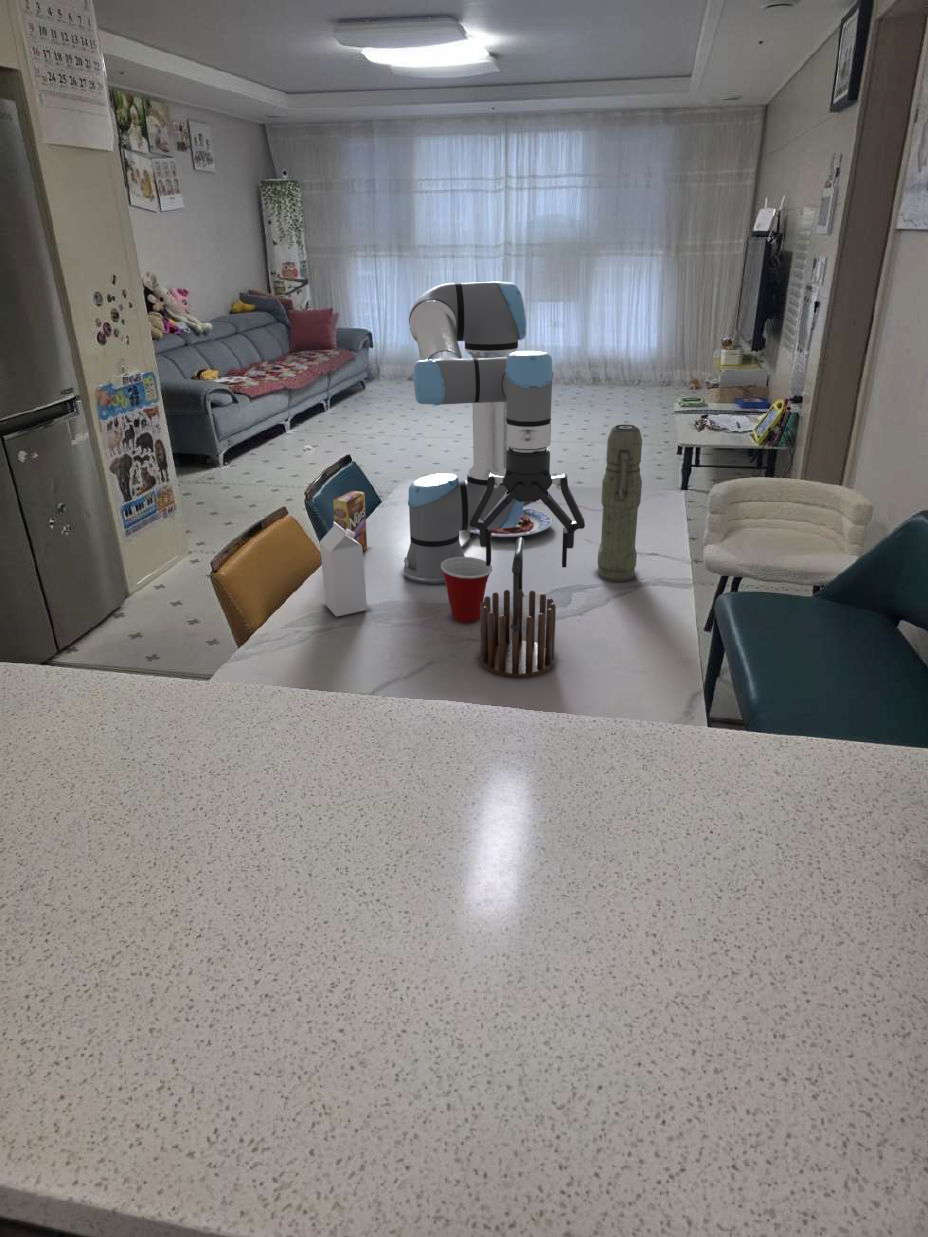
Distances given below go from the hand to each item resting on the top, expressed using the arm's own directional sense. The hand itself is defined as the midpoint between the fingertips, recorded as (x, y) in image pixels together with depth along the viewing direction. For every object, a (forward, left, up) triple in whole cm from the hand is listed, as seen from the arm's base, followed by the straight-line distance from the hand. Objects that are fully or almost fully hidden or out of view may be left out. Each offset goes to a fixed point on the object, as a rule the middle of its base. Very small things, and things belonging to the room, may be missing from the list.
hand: (526, 564), depth 149 cm
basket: (0, -8, -9) cm, 12 cm away
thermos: (-45, +20, -20) cm, 53 cm away
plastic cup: (-19, -13, -20) cm, 30 cm away
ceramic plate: (-78, -8, -20) cm, 81 cm away
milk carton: (-22, -40, -20) cm, 50 cm away
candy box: (-56, -46, -20) cm, 75 cm away
